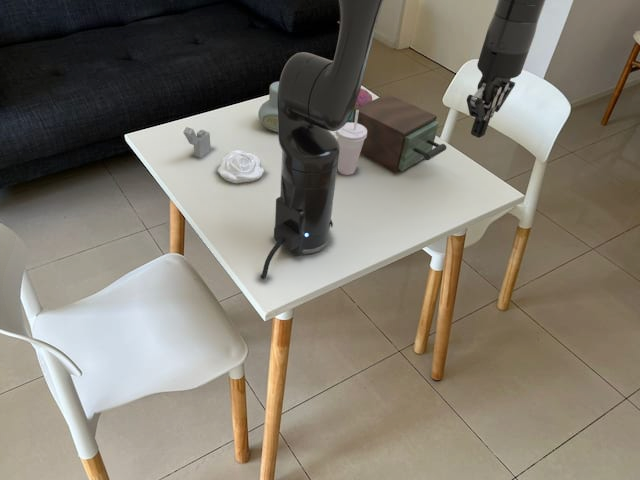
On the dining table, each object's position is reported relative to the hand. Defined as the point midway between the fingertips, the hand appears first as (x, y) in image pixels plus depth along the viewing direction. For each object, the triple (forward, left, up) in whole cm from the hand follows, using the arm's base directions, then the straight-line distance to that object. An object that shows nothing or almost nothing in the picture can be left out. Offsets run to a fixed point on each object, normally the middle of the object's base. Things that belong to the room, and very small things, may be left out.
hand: (477, 135), depth 102 cm
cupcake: (+6, +35, -13) cm, 38 cm away
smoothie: (-13, +20, -13) cm, 27 cm away
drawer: (0, +15, -12) cm, 19 cm away
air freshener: (-11, +43, -13) cm, 47 cm away
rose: (-31, +34, -13) cm, 48 cm away
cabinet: (0, +19, -13) cm, 23 cm away
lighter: (-34, +45, -13) cm, 58 cm away
